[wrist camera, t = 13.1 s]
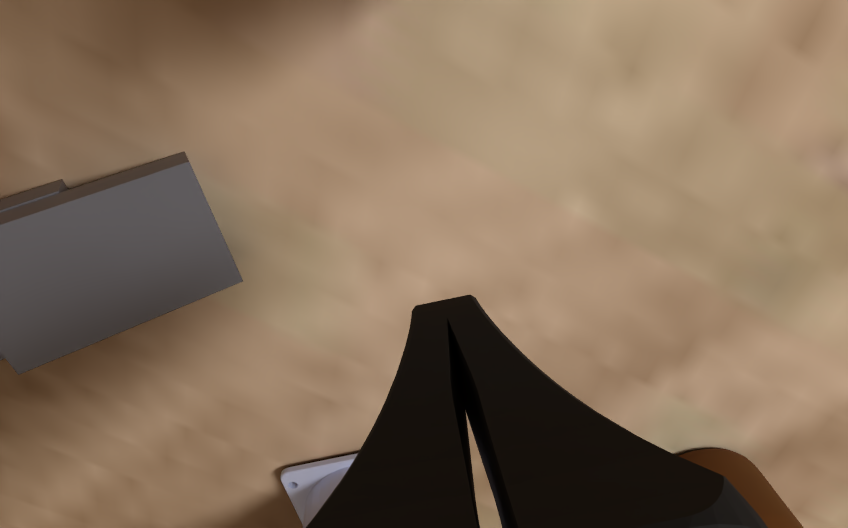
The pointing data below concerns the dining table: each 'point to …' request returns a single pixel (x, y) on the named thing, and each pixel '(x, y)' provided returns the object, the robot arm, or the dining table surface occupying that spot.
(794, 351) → the dining table surface
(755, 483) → the mug
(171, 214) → the domino
